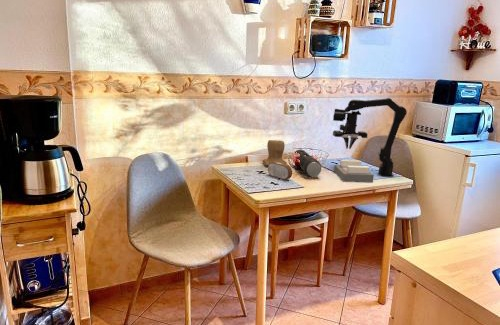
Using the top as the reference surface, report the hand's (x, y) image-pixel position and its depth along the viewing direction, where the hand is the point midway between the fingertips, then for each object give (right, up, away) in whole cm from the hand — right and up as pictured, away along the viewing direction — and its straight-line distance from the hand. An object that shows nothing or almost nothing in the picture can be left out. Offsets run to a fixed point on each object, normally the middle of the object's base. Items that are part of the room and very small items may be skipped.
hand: (348, 148), depth 217 cm
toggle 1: (0, -10, -5) cm, 11 cm away
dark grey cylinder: (-25, -14, -4) cm, 29 cm away
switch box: (0, -16, -9) cm, 18 cm away
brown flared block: (-43, -9, +10) cm, 45 cm away
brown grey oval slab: (-42, -16, -17) cm, 48 cm away
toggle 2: (+1, -13, -17) cm, 21 cm away
